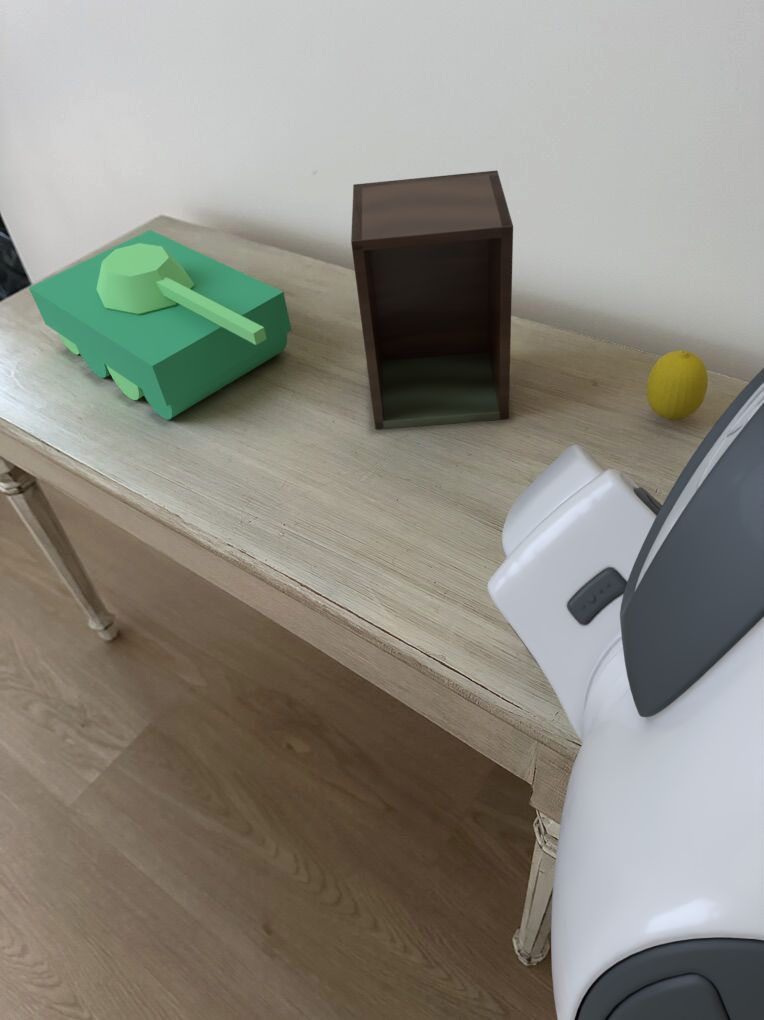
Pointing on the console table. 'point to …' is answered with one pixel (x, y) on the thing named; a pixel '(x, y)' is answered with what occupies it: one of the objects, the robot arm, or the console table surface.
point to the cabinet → (435, 297)
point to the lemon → (677, 385)
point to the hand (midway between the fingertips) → (704, 595)
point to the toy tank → (164, 320)
